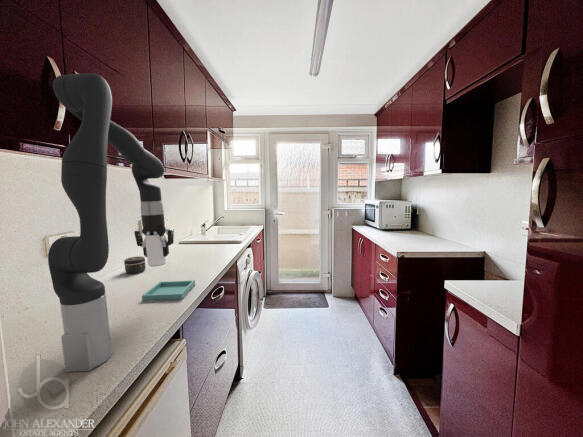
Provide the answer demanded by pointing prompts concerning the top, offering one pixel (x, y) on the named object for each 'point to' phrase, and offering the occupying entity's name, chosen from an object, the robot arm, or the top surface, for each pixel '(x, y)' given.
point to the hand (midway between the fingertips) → (156, 256)
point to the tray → (169, 291)
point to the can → (154, 251)
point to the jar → (134, 265)
